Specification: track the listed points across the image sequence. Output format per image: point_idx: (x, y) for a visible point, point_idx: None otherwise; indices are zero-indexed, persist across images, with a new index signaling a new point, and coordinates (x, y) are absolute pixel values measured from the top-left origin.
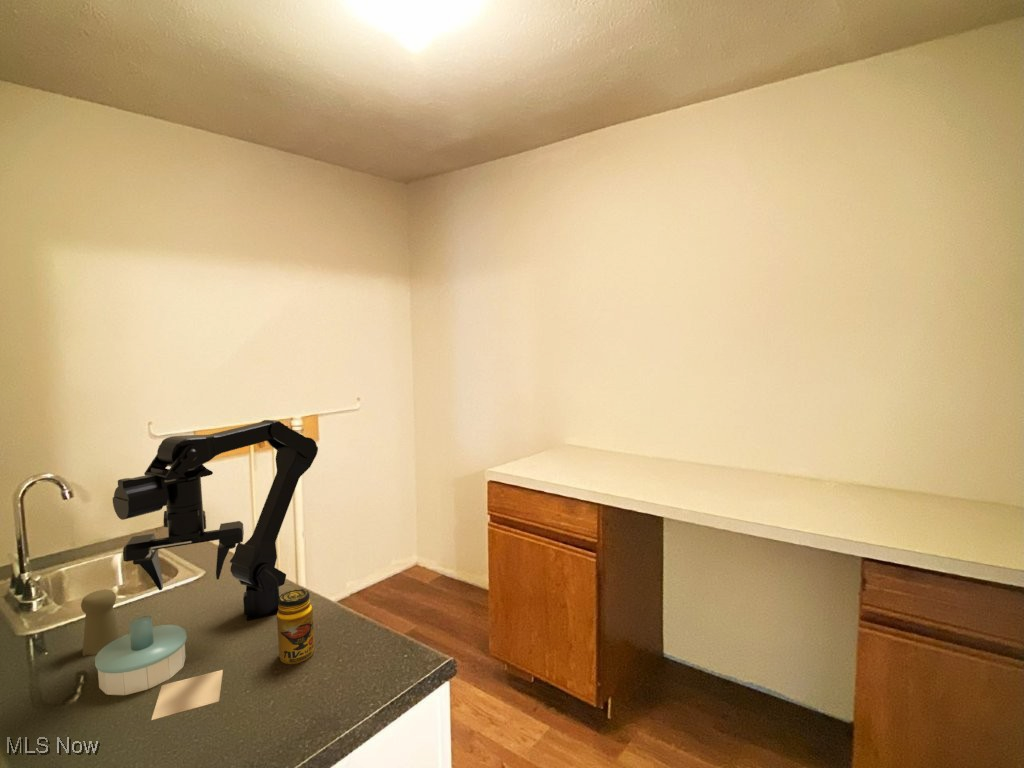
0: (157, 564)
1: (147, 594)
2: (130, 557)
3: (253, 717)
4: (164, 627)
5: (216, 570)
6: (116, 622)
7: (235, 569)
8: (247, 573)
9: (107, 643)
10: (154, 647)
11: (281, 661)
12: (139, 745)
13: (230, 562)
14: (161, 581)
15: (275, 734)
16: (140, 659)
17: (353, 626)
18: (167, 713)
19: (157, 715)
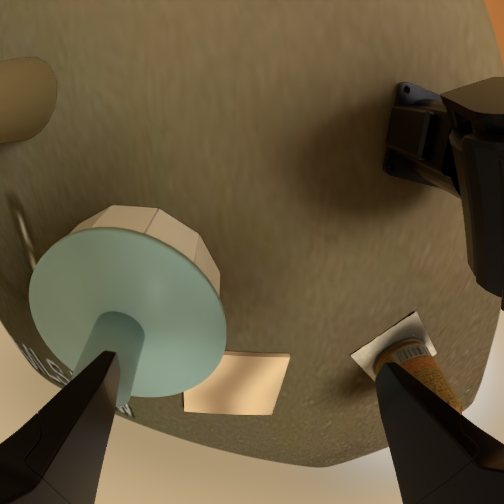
0: (68, 494)
1: None
2: None
3: (302, 435)
4: (156, 262)
5: (387, 436)
6: (11, 99)
7: (482, 194)
8: (487, 282)
9: (22, 135)
10: (153, 357)
11: (375, 372)
12: (179, 427)
13: (499, 165)
14: (109, 403)
15: (313, 452)
16: (137, 384)
17: (490, 311)
18: (204, 410)
19: (191, 408)
